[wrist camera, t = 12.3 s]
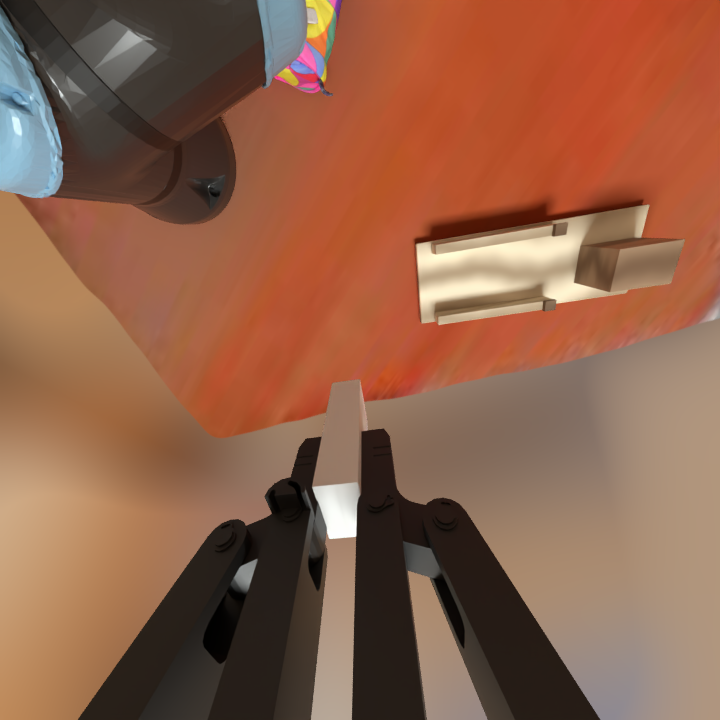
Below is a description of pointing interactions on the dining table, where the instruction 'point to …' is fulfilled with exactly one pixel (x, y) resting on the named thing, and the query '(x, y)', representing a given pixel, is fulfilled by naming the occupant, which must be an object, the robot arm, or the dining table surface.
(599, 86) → the dining table surface
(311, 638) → the robot arm
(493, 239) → the railed wooden board
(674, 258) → the walnut block
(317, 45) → the pencil case
